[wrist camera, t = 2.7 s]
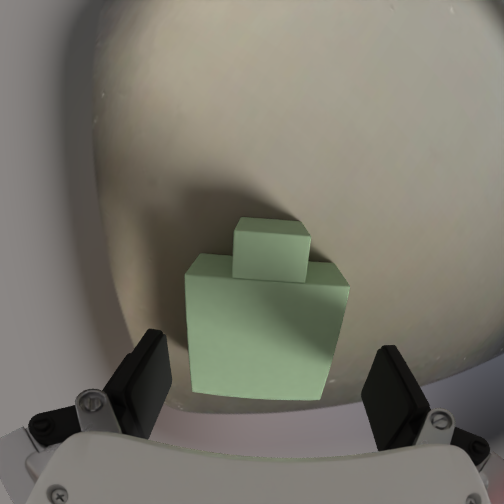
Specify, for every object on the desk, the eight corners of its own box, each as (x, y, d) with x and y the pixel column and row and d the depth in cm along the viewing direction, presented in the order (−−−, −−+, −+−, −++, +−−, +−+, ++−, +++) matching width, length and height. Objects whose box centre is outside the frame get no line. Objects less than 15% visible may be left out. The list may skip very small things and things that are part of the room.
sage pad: (202, 359, 16) (191, 392, 13) (200, 214, 13) (183, 226, 11) (313, 366, 16) (320, 400, 13) (340, 225, 13) (359, 240, 10)
